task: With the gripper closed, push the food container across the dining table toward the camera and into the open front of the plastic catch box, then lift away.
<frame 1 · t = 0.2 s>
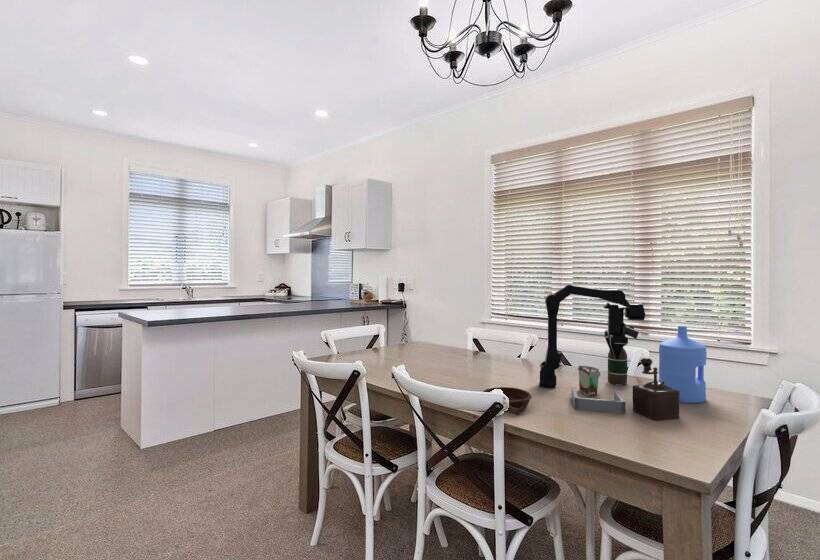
hand: (615, 357, 173), 14 cm above the table, tool pointing down, fingers open, 9 cm apart
catch box: (596, 404, 155), on the table
food container: (591, 393, 170), on the table
beer bottle: (617, 383, 185), on the table
water jug: (681, 398, 163), on the table
manual coffee grinder: (650, 412, 147), on the table
dish: (506, 406, 154), on the table
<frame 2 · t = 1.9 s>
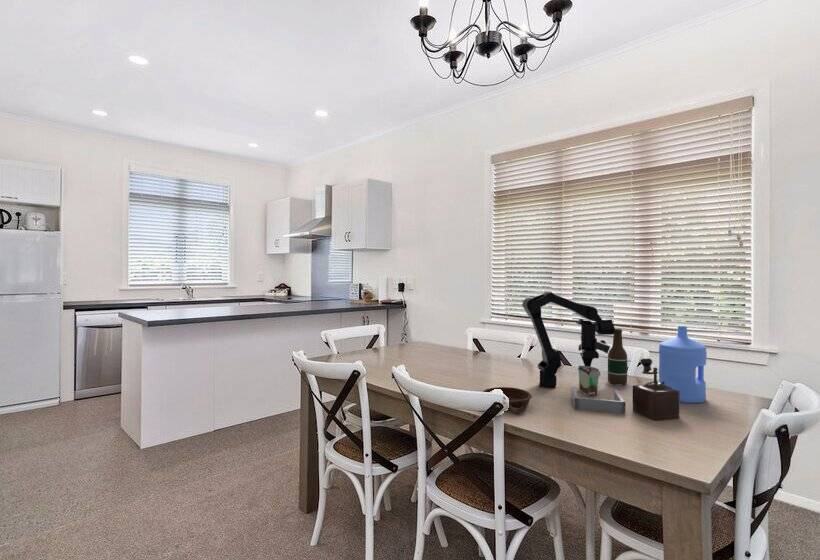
hand: (587, 370, 181), 7 cm above the table, tool pointing down, fingers closed
nothing on the table moved.
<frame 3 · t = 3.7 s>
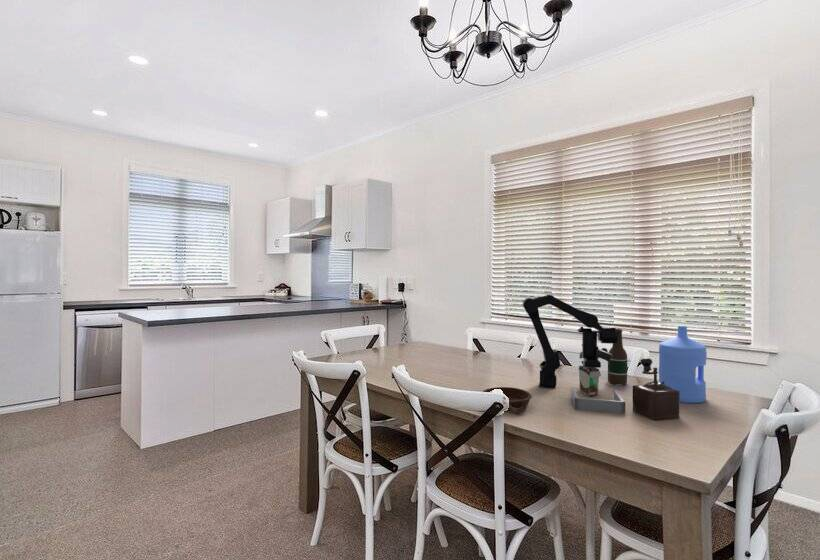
hand: (589, 379, 177), 4 cm above the table, tool pointing down, fingers closed
food container: (591, 393, 169), on the table, touching gripper
everything else where it was.
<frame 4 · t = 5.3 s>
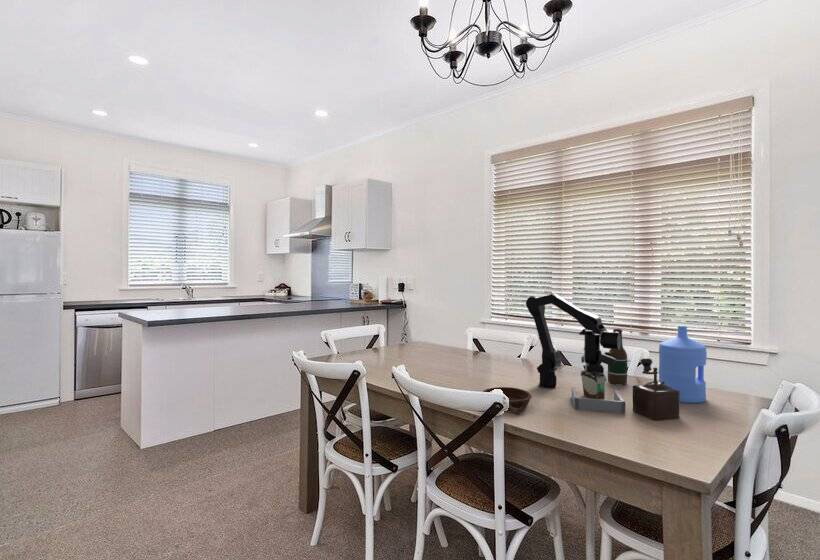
hand: (591, 384, 168), 4 cm above the table, tool pointing down, fingers closed
food container: (597, 399, 161), on the table, touching gripper
everything else where it was.
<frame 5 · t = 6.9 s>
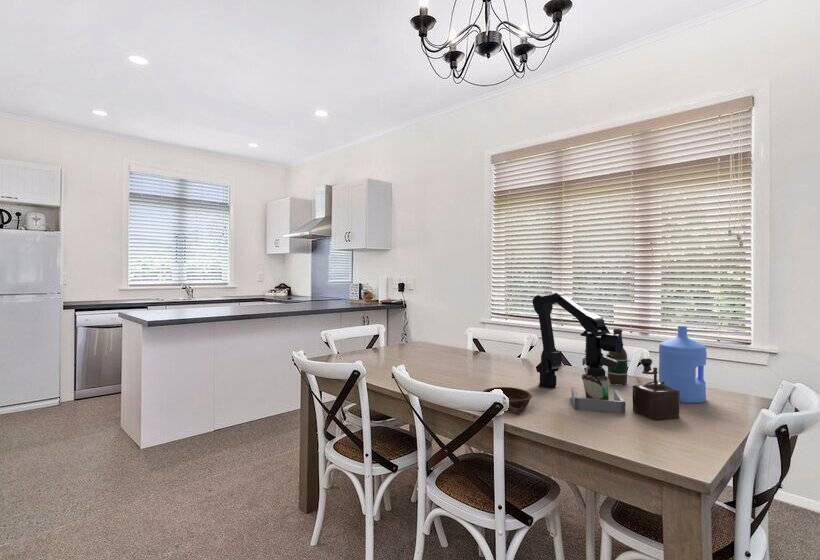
hand: (592, 388, 163), 4 cm above the table, tool pointing down, fingers closed
food container: (601, 403, 156), on the table, touching gripper
everything else where it was.
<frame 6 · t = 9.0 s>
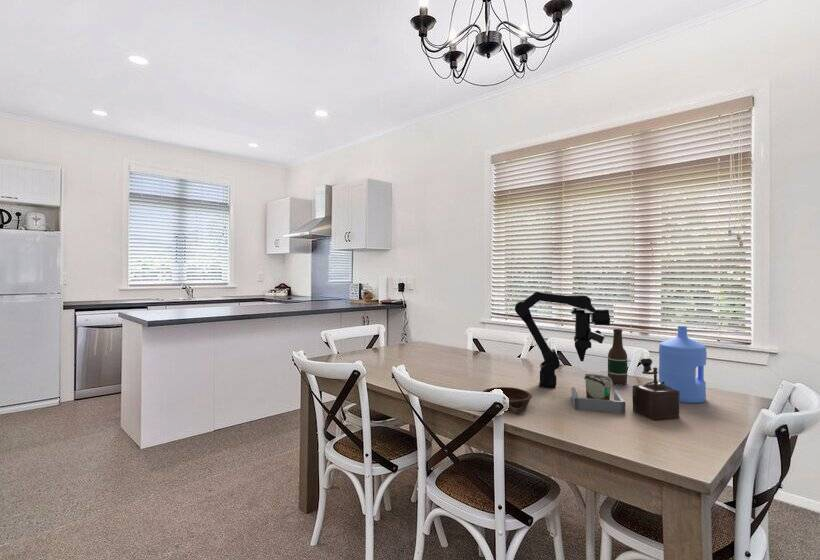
hand: (581, 361, 177), 12 cm above the table, tool pointing down, fingers closed
food container: (601, 404, 156), on the table
everything else where it was.
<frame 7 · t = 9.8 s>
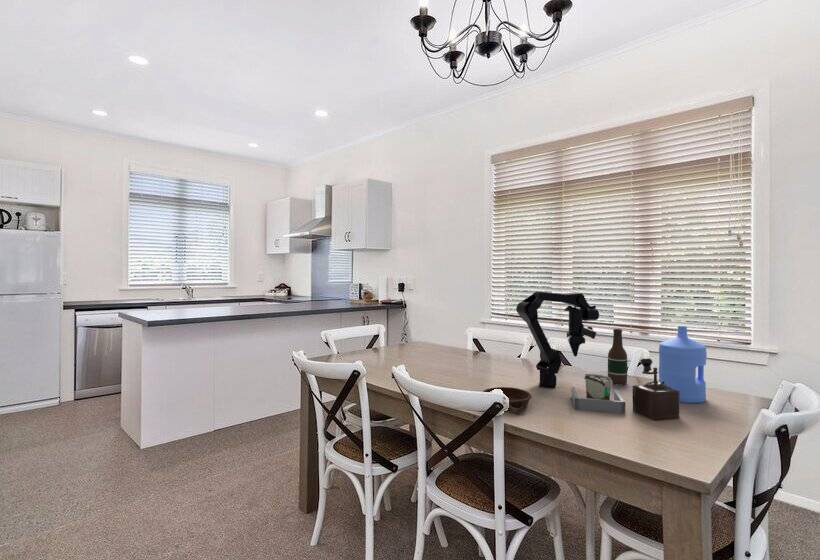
hand: (575, 356, 184), 12 cm above the table, tool pointing down, fingers closed
nothing on the table moved.
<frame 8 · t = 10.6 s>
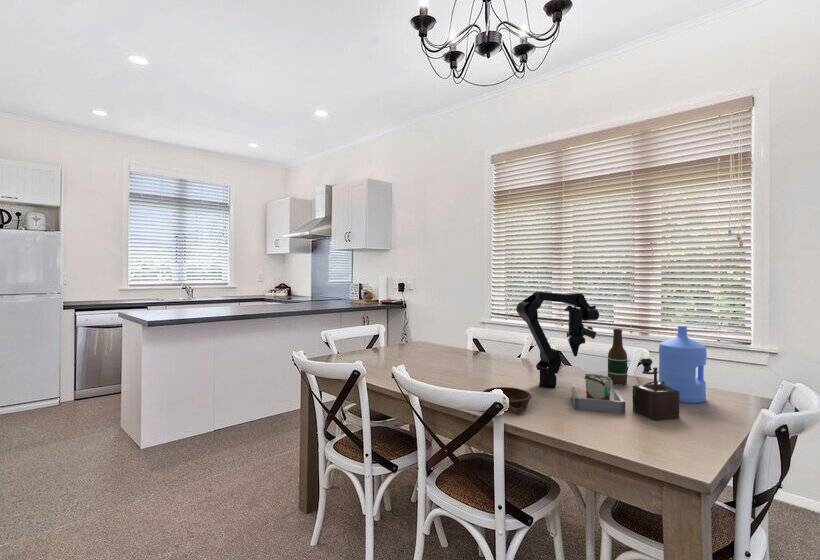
hand: (575, 356, 184), 12 cm above the table, tool pointing down, fingers closed
nothing on the table moved.
at the end: food container inside the target area on the catch box (3.5 cm from its centre), point 0.0 cm above the catch box's base; food container tilted 0° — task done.
